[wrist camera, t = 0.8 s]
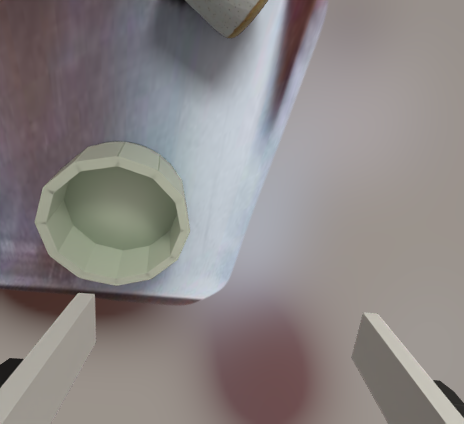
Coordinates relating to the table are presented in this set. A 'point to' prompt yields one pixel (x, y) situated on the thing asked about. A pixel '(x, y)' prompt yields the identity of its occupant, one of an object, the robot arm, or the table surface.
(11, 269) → the table surface
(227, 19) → the ceramic mug
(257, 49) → the table surface
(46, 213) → the sage bowl
